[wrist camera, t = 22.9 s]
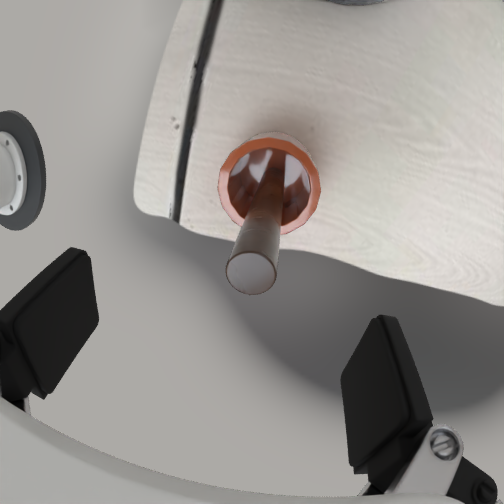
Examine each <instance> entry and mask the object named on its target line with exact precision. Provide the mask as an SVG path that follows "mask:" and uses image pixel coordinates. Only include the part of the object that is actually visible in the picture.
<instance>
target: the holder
mask: <svg viewBox="0 0 504 504" xmlns="http://www.w3.org/2000/svg"><path fill="white" fill-rule="evenodd" d="M269 168H278V169H280V170H281V171H282V172H283V174H284V176H285V183H284V196H283V208H282V220H281V232H280V235H283V234H287V233H290V232H291V231H293V230H295V229H297V228H298V227H300V226H302V225H303V224H305V223H306V221H307V220H308V219H309V218H310V216H311V215H312V214H313V213H314V211H315V210H316V208H317V204H318V200H319V197H320V193H321V187H320V180H319V174H318V170H317V168H316V166H315V163H314V161H313V159H312V157H311V156H310V154H309V152H308V151H307V149H306V148H305V146H304V145H303V144H302V143H301V142H299V141H298V140H297V139H295V138H294V137H292V136H290V135H288V134H284V133H280V132H265V133H261V134H257V135H255V136H254V137H252V138H250V139H249V140H248V141H246V142H245V143H243V144H242V145H240V146H239V147H238V148H236V149H235V150H234V151H232V152H231V153H230V155H229V156H228V158H227V159H226V161H225V163H224V164H223V166H222V167H221V169H220V175H219V181H218V192H219V196H220V200H221V204H222V206H223V208H224V210H225V211H226V212H227V214H228V215H229V216H230V218H231V219H232V221H233V222H235V223H236V224H238V225H239V226H241V227H242V225H243V222H244V220H245V217H246V215H247V212H248V210H249V207H250V205H251V202H252V200H253V197H254V195H255V193H256V190H257V188H258V185H259V183H260V180H261V178H262V175H263V173H264V172H265V171H266V170H267V169H269Z"/></svg>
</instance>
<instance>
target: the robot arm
mask: <svg viewBox="0 0 504 504" xmlns="http://www.w3.org/2000/svg"><path fill="white" fill-rule="evenodd" d="M26 191H27V170H26V164H25V160H24V156H23V153H22V150H21V148H20V146H19V144H18V143H17V141H16V140H15V138H14V137H13V136H12V135H11V134H9V133H7V132H3V131H1V132H0V214H2V215H11V214H13V213H15V212H16V211H18V210H19V209H20V207H21V206H22V204H23V202H24V199H25V196H26ZM98 322H99V315H98V309H97V303H96V296H95V290H94V281H93V274H92V265H91V258H90V257H89V256H88V254H87V252H86V251H84V250H81V249H77V248H73V247H71V248H69V249H67V250H66V251H65V252H64V253H63V254H61V255H60V256H59V257H58V258H57V259H56V260H54V261H53V262H52V263H51V264H50V265H48V266H47V267H46V268H45V269H44V270H43V271H42V272H40V273H39V274H38V275H37V276H36V277H35V278H34V279H33V280H32V281H31V282H29V283H28V284H27V285H26V286H25V287H24V288H23V289H22V290H21V291H20V292H19V293H18V294H17V295H16V296H15V297H13V298H12V300H10V301H9V302H8V303H7V304H6V305H5V306H4V307H3V308H2V309H1V310H0V504H503V503H502V502H501V500H498V501H496V500H497V486H496V483H495V482H494V480H493V479H492V478H491V477H490V476H489V475H487V474H486V473H484V472H483V471H482V470H480V469H479V468H478V467H476V466H475V465H474V464H472V463H471V462H469V461H468V460H467V459H465V458H464V457H463V456H462V455H463V450H464V448H463V441H462V439H461V436H460V435H459V434H458V432H457V431H456V430H454V428H452V427H450V426H448V425H445V424H438V425H434V426H433V424H432V420H433V416H432V414H431V410H430V407H429V404H428V400H427V397H426V394H425V392H424V388H423V386H422V382H421V379H420V377H419V374H418V371H417V368H416V366H415V363H414V360H413V358H412V355H411V352H410V350H409V347H408V344H407V342H406V339H405V337H404V334H403V332H402V329H401V327H400V325H399V322H398V320H397V318H396V317H392V316H386V315H379V316H377V318H373V319H372V320H371V321H370V323H369V325H368V327H367V329H366V331H365V333H364V335H363V337H362V338H361V340H360V342H359V344H358V346H357V348H356V349H355V351H354V353H353V355H352V356H351V358H350V360H349V362H348V364H347V365H346V367H345V369H344V370H343V372H342V375H341V389H342V397H343V405H344V414H345V424H346V434H347V445H348V457H349V464H350V466H353V467H354V474H368V483H367V484H366V485H365V487H364V488H363V489H362V490H361V492H360V493H359V495H357V496H352V497H304V496H285V495H273V494H263V493H254V492H246V491H240V490H234V489H228V488H221V487H217V486H211V485H207V484H202V483H198V482H193V481H189V480H185V479H181V478H177V477H173V476H169V475H166V474H163V473H159V472H156V471H153V470H150V469H147V468H144V467H140V466H137V465H135V464H132V463H129V462H126V461H124V460H121V459H118V458H115V457H113V456H111V455H108V454H106V453H104V452H101V451H99V450H96V449H94V448H92V447H90V446H87V445H85V444H83V443H81V442H79V441H76V440H75V439H73V438H70V437H68V436H66V435H64V434H62V433H61V432H59V431H57V430H55V429H53V428H51V427H49V426H48V425H46V424H44V423H42V422H40V421H39V420H37V419H35V418H34V417H32V416H31V412H30V406H29V399H28V395H29V394H30V392H32V393H33V394H35V395H37V396H38V397H40V398H42V399H45V398H46V396H47V394H51V393H52V392H53V391H54V389H55V388H56V386H57V385H58V383H59V381H60V380H61V378H62V377H63V375H64V374H65V372H66V371H67V369H68V368H69V366H70V365H71V363H72V362H73V360H74V359H75V357H76V355H77V354H78V353H79V351H80V350H81V348H82V347H83V346H84V344H85V343H86V341H87V340H88V338H89V337H90V335H91V334H92V333H93V331H94V330H95V328H96V327H97V325H98Z"/></svg>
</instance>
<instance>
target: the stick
mask: <svg viewBox="0 0 504 504" xmlns="http://www.w3.org/2000/svg"><path fill="white" fill-rule="evenodd" d="M284 183H285V176H284V174H283V172H282V171H281V170H280V169H278V168H269V169H267V170H266V171H265V172H264V173H263V175H262V178H261V180H260V183H259V185H258V188H257V190H256V193H255V195H254V197H253V200H252V202H251V205H250V207H249V210H248V212H247V215H246V217H245V220H244V222H243V225H242V227H241V230H240V232H239V235H238V237H237V240H236V242H235V245H234V247H233V250H232V252H231V255H230V257H229V260H228V263H227V266H226V276H227V279H228V281H229V283H230V284H231V285H232V287H234V288H235V289H236V290H238V291H239V292H242V293H244V294H249V295H256V294H261V293H264V292H266V291H267V290H269V289H270V288H271V287H272V286H273V284H274V283H275V280H276V276H277V264H278V255H279V244H280V232H281V220H282V208H283V196H284Z"/></svg>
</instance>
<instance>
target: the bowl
mask: <svg viewBox="0 0 504 504" xmlns="http://www.w3.org/2000/svg"><path fill="white" fill-rule="evenodd" d="M328 1H332V2H335V3H339V4H352V5H367V4H372V3H376V2H382V1H384V0H328Z"/></svg>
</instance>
